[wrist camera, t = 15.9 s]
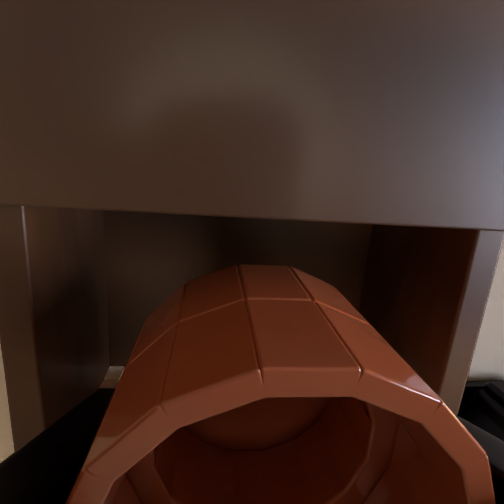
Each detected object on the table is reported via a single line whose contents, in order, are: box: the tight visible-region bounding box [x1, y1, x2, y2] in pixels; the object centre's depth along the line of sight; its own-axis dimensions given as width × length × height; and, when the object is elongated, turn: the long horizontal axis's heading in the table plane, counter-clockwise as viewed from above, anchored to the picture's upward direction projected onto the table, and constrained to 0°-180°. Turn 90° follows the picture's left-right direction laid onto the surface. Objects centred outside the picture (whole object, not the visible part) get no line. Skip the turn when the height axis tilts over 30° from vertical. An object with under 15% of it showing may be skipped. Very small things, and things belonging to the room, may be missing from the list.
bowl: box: [65, 264, 496, 504], centre depth 8 cm, size 7×7×5 cm
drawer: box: [0, 205, 504, 452], centre depth 12 cm, size 20×14×7 cm
